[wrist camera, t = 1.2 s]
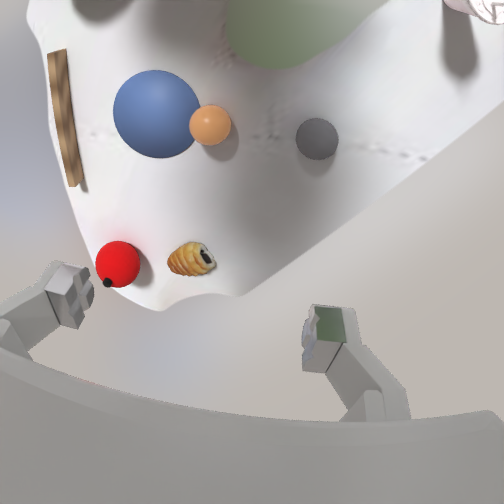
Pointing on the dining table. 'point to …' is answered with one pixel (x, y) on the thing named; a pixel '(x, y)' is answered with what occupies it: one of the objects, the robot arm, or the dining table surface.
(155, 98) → the blue flat disc
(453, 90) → the dining table surface
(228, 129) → the object ball
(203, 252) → the pastry
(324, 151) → the grey matte sphere
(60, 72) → the wall
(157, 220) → the dining table surface
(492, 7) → the smoothie
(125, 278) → the ornament
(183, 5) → the dining table surface
